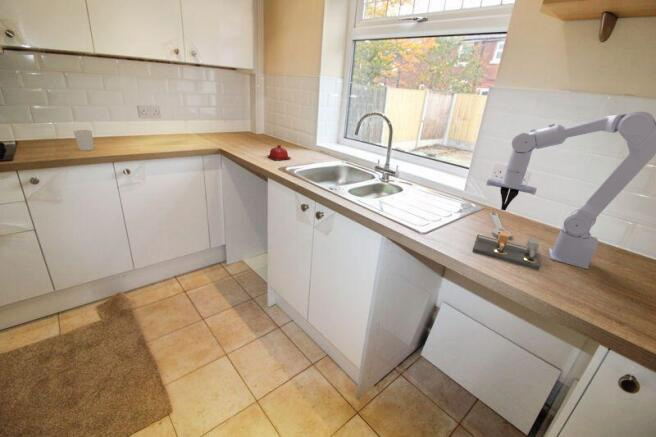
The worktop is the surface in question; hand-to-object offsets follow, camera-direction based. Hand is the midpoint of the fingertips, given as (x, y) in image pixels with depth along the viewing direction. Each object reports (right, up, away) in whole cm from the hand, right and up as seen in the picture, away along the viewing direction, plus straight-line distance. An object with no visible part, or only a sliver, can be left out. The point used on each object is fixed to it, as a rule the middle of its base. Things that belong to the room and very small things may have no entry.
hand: (503, 209), depth 108 cm
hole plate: (-5, -14, -9) cm, 17 cm away
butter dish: (-90, +33, +83) cm, 127 cm away
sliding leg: (-6, -12, -9) cm, 16 cm away
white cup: (-195, +35, +68) cm, 209 cm away
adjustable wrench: (+4, -7, +11) cm, 13 cm away
